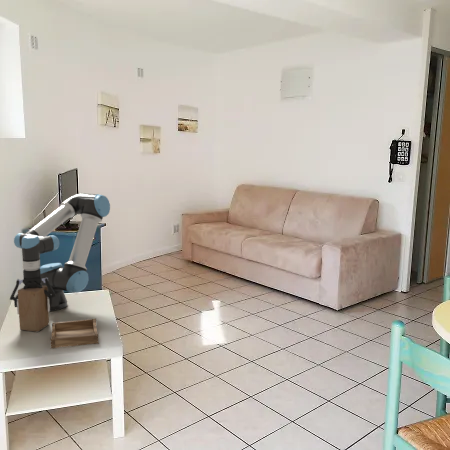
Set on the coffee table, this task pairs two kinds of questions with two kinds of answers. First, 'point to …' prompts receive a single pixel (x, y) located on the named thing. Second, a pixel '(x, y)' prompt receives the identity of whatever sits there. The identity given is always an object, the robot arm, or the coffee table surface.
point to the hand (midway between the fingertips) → (33, 312)
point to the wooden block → (33, 308)
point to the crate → (74, 333)
